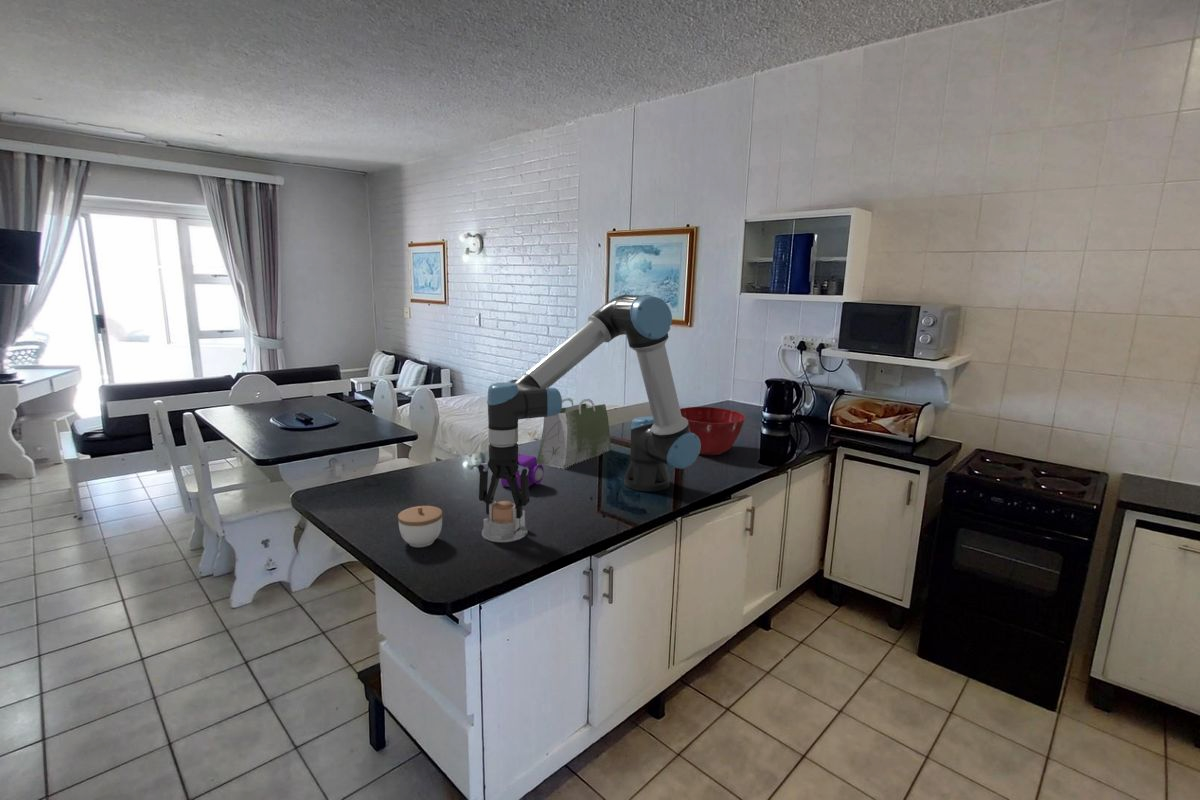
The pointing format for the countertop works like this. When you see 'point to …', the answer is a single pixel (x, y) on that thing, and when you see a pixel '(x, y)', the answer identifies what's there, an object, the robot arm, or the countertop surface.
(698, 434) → the mixing bowl
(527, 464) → the toy camera
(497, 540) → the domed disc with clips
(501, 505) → the tan tapered cylinder
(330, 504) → the countertop surface
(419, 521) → the lidded jar
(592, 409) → the grocery bag
